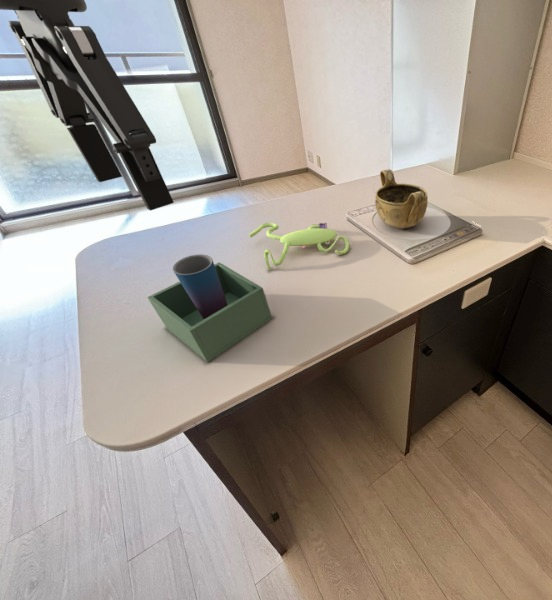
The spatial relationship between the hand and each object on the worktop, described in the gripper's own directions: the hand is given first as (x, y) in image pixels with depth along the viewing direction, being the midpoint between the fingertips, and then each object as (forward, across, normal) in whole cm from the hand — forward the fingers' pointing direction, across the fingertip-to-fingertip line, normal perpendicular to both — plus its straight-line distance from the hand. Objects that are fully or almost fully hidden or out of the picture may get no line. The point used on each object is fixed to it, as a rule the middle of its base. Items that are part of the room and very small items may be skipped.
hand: (134, 191), depth 42 cm
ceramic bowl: (+35, +5, -69) cm, 77 cm away
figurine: (+35, +20, -38) cm, 55 cm away
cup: (+34, +10, -6) cm, 36 cm away
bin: (+35, +10, -6) cm, 37 cm away
